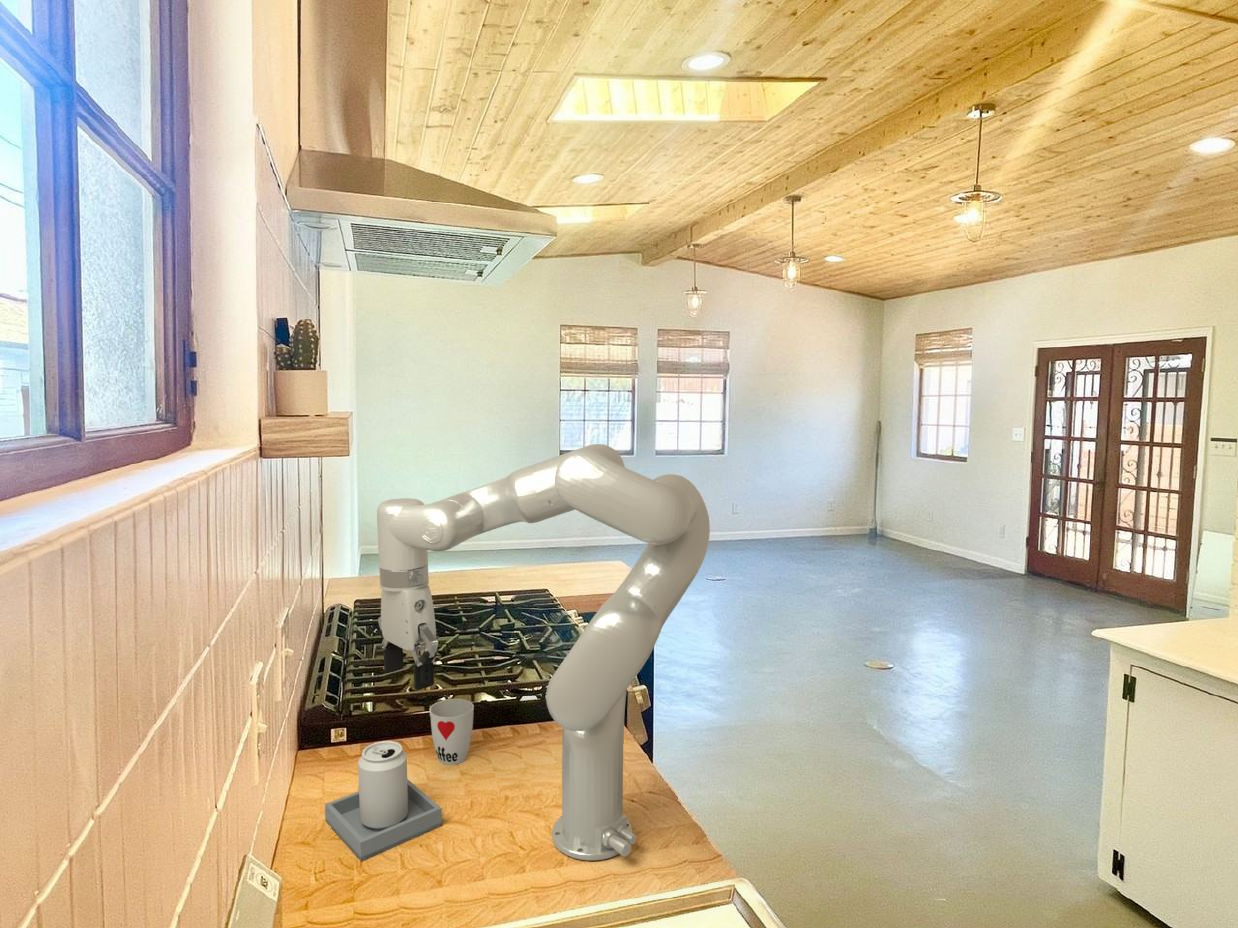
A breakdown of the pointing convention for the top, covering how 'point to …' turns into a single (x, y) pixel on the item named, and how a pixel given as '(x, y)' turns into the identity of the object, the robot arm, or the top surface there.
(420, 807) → the bin
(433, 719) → the cup
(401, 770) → the can
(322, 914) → the top surface
